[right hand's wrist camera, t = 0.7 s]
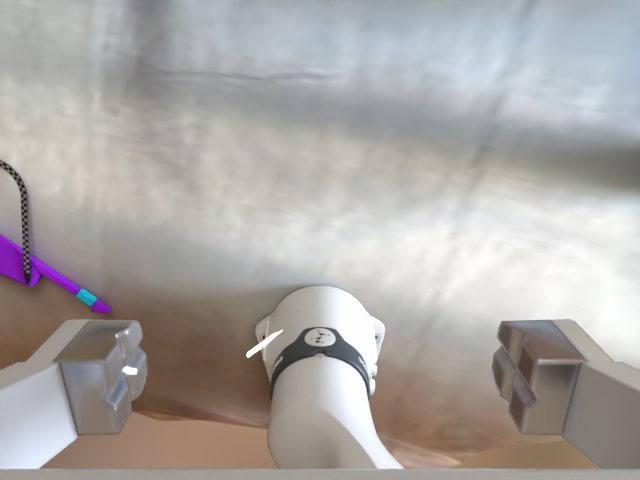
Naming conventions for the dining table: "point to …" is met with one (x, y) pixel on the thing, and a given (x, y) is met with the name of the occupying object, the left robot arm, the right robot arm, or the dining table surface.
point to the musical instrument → (28, 269)
